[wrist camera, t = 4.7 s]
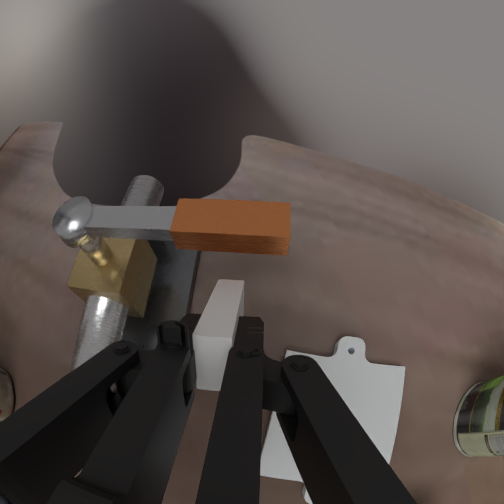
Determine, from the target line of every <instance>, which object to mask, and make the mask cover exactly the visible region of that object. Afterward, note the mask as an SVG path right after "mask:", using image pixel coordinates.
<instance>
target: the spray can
mask: <svg viewBox="0 0 504 504" xmlns="http://www.w3.org/2000/svg"><path fill="white" fill-rule="evenodd" d="M13 405H14V394H13V389H12V383H11V378H10V376H9V374H8V373H7V372H6V371H5V370H4V369H3V368H0V421H3V420H4V419H6V418H7V417H9V416H10V415H11V414H12V411H13Z"/></svg>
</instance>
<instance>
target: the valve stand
mask: <svg viewBox="0 0 504 504" xmlns="http://www.w3.org/2000/svg"><path fill="white" fill-rule="evenodd" d="M163 191H164V189H163V186H162V184H161V183H160V182H159V181H158V180H157V179H155V178H153V177H151V176H147V175H140V176H137V177H135V178H134V179H133V180H132V182H131V184H130V186H129V188H128V191H127V193H126V195H125V197H124V200H123V202H122V204H121V206H159V203H160V201H161V198H162V195H163ZM79 247H80V250H79V253H78V256H77V258H76V261H75V264H74V266H73V269H72V272H71V275H70V278H69V281H68V284H67V287H69V288H70V289H71V290H72V291H73V292H74V293H76V294H77V295H78V296H79V297H80V298H82V299H83V300H84V301H85V302H86V305H85V309H84V313H83V316H82V320H81V324H80V328H79V332H78V336H77V341H76V345H75V350H74V355H73V360H72V365H71V370H70V372H72V371H73V370H75V369H76V368H77V367H79V366H80V365H82V364H83V363H84V362H86V361H87V360H89V359H90V358H91V357H93V356H94V355H96V354H97V353H99V352H100V351H101V350H103V349H104V348H106V347H107V346H108V345H110V344H112V343H114V342H117V341H120V340H123V341H124V340H126V341H132V342H133V343H135V344H136V345H137V346H138V351H149V350H154V349H155V348H156V346H157V345H158V342H157V335H156V327H155V326H156V325H158V324H159V323H161V322H164V321H169V320H177V321H180V320H181V319H182V317H184V316H185V315H187V314H189V313H190V309H191V303H192V297H193V291H194V285H195V280H196V274H197V269H198V263H199V258H200V253H201V250H185V249H177V248H176V246H175V244H174V241H162V240H142V239H122V238H101V237H93V238H92V239H91V240H90V241H88V242H87V243H86V244H84V245H82V246H79ZM110 388H111V391H113V390H114V389H116V385H115V383H114V384H113V385H112V386H111V387H110Z"/></svg>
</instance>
